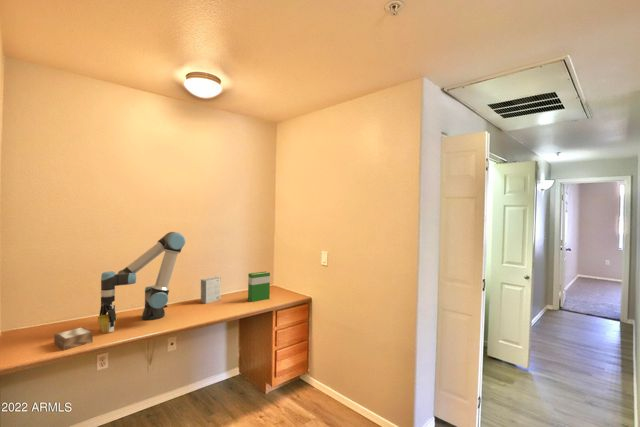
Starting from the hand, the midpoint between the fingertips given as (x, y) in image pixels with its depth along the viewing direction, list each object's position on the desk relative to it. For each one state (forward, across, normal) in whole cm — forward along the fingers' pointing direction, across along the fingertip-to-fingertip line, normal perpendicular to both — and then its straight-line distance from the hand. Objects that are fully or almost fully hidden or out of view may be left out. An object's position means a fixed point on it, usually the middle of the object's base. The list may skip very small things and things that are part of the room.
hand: (107, 329), depth 203 cm
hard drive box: (+1, -3, +83) cm, 83 cm away
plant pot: (+1, 0, 0) cm, 1 cm away
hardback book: (+1, +28, +111) cm, 114 cm away
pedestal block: (+1, +5, -20) cm, 21 cm away
